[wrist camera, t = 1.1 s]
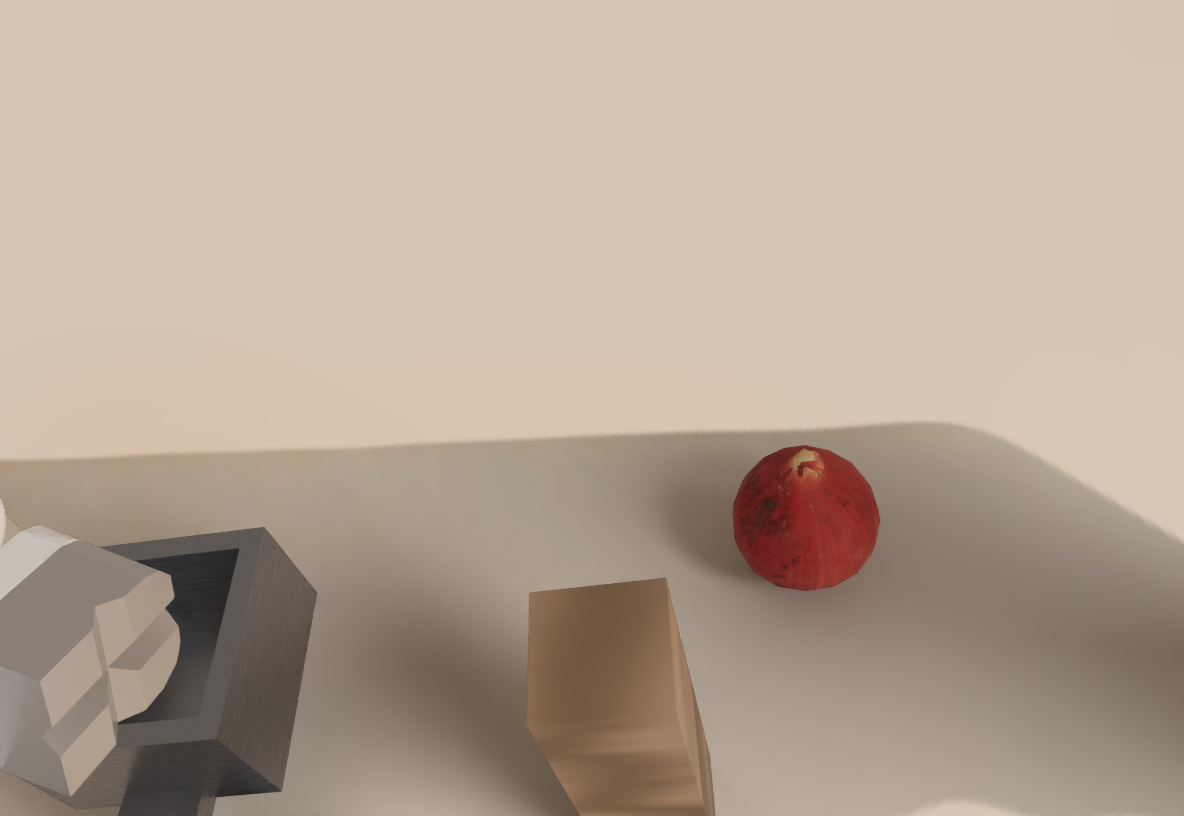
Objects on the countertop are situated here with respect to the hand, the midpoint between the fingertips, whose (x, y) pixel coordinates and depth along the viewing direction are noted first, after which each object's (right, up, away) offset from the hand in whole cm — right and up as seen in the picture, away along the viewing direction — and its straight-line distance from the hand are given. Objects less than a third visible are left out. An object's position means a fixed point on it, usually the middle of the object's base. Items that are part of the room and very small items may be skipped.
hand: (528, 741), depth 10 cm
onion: (+10, -4, +34) cm, 35 cm away
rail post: (+3, -12, +28) cm, 31 cm away
